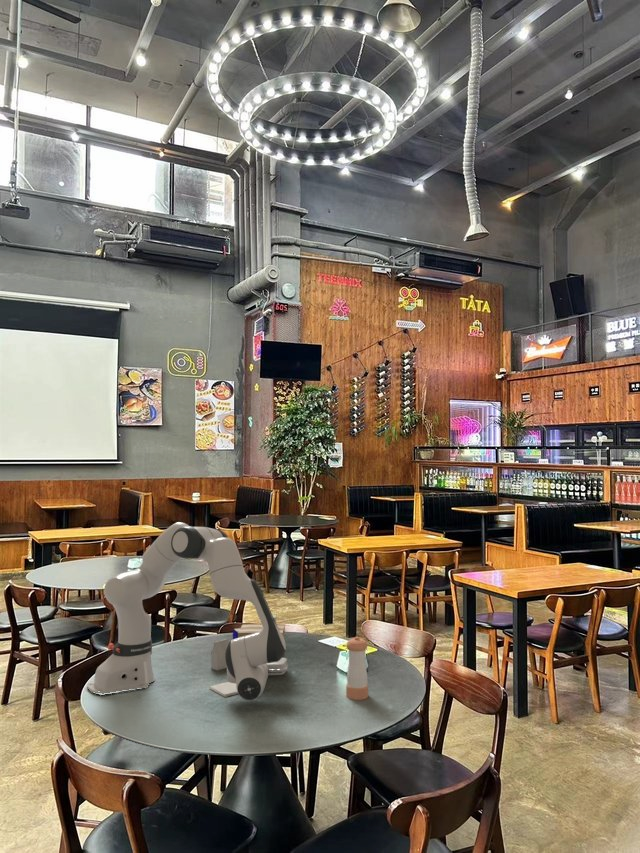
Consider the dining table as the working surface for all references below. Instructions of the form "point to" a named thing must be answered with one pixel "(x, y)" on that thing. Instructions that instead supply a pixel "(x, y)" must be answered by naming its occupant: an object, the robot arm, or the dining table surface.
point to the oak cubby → (253, 628)
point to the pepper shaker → (357, 670)
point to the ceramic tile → (225, 689)
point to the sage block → (274, 617)
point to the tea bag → (219, 655)
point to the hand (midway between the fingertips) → (258, 659)
